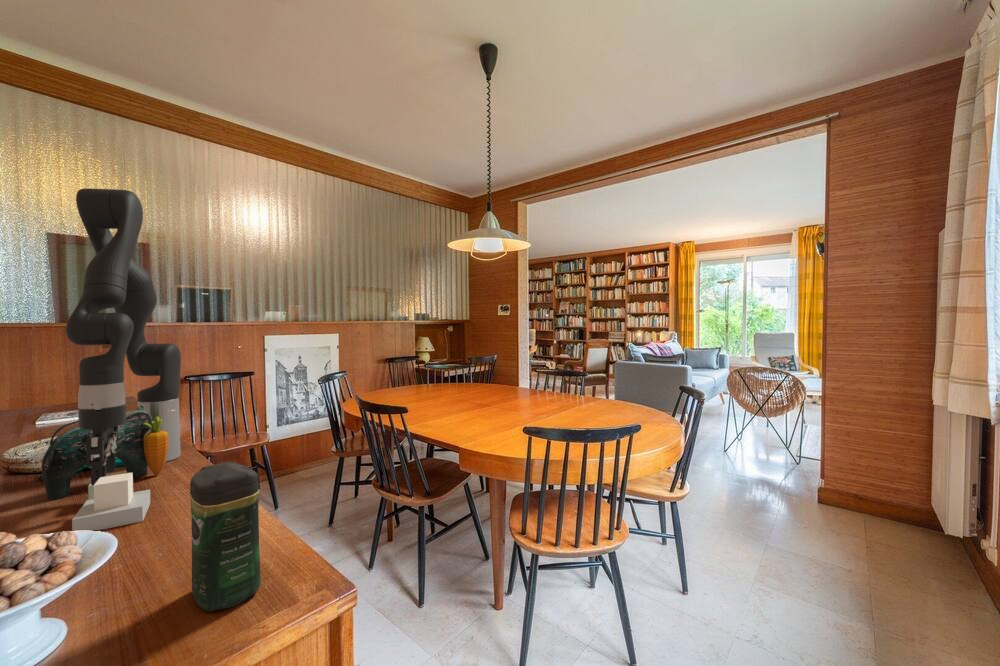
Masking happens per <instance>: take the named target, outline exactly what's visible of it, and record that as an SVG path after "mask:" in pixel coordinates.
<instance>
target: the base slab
mask: <svg viewBox="0 0 1000 666" xmlns="http://www.w3.org/2000/svg"><path fill="white" fill-rule="evenodd" d="M150 505H151V489H146V490H139V491H133V497H132V499H131V501H130V503H129V505H124V506H119V507H113V508H108V509H102V510H97V511H94V499H91V500H89V499H87V500H86V501H85V502H84V503H83V505H82V506H81V507H80V508H79V510H78V511H77V513H76V514H75V515H74V516H73V518H72V519H71V527H72V528H71V529H72V531H75V530H98V531H102V530H103V531H104V530H107V529H111V528H112V529H113V528H115V527H116V528H118V527H121V526H126V525H130V524H132V525H133V524H137V523H141V522H144V519H145V517H146V515H147V512H148V509H149V508H150ZM101 528H102V530H101Z"/></svg>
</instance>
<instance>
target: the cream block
mask: <svg viewBox="0 0 1000 666" xmlns="http://www.w3.org/2000/svg"><path fill="white" fill-rule="evenodd" d="M133 492H134V479H133V472H132V473H127V472H126V473H120V474H119V473H118V474H113V475H112V474H111V475H106V477H100V478H99V479H98V481H97V482H96V483H95V484H94V511H97V510H102V509H108V508H113V507H119V506H124V505H129V503H130V501H131V499H132V497H133Z"/></svg>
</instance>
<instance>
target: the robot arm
mask: <svg viewBox="0 0 1000 666" xmlns="http://www.w3.org/2000/svg"><path fill="white" fill-rule="evenodd" d="M75 196H76V197H75V204H76V207H77V211H78V214H79V218H80V220H81V222H82V224H83V226H84V227H83V228H85V231H86V233H87V236H88V238H89V240H90V242H91V245H92V247H93V249H94V253H95V256H93V258H92V259H91V260H90V262H89V263H88V265H87V267H86V270H85V274H84V281H83V289H82V294H81V296H80V298H79V301H78V303H77V304H76V307H75V308H74V310H73V312H71V314H70V316H69V318H68V319H67V320H68V321H66V326H65V335H66V337H67V338H68V340H69V341H70V342H71V343H72V344H74V345H78V346H105V345H106V346H108V345H110V348H109V350H108V351H106V353H103V354H102V353H101V354H99V355H98V354H97V355H93V356H87V357H83V358H82V359H81V360H80V361H79V365H78V367H79V368H78V370H79V371H78V372H79V376H78V377H79V378H78V379H79V382H78V383H79V386H78V387H79V388H78V395H77V408H78V409H77V411H78V412H77V415H78V416H77V418H78V420H77V421H78V427H79V428H81V429H91V430H92V431H93V432H92V437H89V438H87V440H86V465H85V466H86V468H89V469H90V483H91V485H94V484H95V483H96V482H97V481H98V479H99V478H100V477H106V476H107V474H110V473H114V472H116V469H117V468H116V458H115V455H116V453H117V450H118V448H119V446H118V426H119V425H122V424H124V423H125V422H126V412H127V405H126V404H127V402H126V400H127V399H126V398H127V396H126V387H125V378H124V377H125V374H124V373H125V370H124V369H125V367H124V365H125V358H126V360H127V363H128V364H127V365H128V367H129V369H130V371H131V372H132V374H133V375H135V376H139V377H159V381H158V382H157V383H156V384H154V385H152V386H150V387H146V388H143V389H140V390H139V391H138V392H137V408H138V407H139V405H142V406H143V407H144V409H145V411H146V412H147V413H149V414H150V415H151V418H152V421H154V422H155V418H154V417H159V419H162V420H163V421H162V424H161V426H160V430H159V431H166V432H167V433H168V453H167V458H166V462H170V461H173V460H175V459H177V458H180V457H181V425H180V423H181V422H180V421H181V420H180V389H181V367H182V366H181V365H182V364H181V363H182V362H181V361H182V356H181V351H180V348H179V347H178V346H177V345H176V344H175V343H170V342H169V343H167V342H166V343H148V342H147V340H146V335H145V328H146V325H147V323H148V321H149V319H150V318H151V316H152V313H153V312H154V309H156V305H157V303H158V302H157V301H158V298H157V293H156V290H155V286H154V282H153V280H152V277H151V275H150V274H149V273H148V271H147V270H146V269H145V268H143V267H142V266H141V264H139V263H138V262H137V261H136V260H135V259H134V258H132V257H133V255H134V251H135V250H136V249H135V248H136V245H137V243H138V240H139V235H140V233H141V229H142V225H143V221H144V210H143V206H142V202H141V200H140V198H139V197H138V195H137V194H136V193H135V192H133V191H131V190H127V189H126V190H125V189H118V188H117V189H114V188H113V189H112V188H92V187H91V188H90V187H87V188H86V187H85V188H80V189H79V190H78V191H77V192H76V195H75ZM110 229H111V230H116V232H115V233H114V235H113V234H112V232H111V230H110ZM108 309H114V311H115V312H101V311H102V310H108ZM149 432H152V431H151V429H149V431H148V432H147V433H146V434H148V433H149ZM146 434H145V435H146ZM145 435H144V436H145ZM96 457H99V460H94V459H95V458H96Z"/></svg>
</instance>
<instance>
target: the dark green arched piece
mask: <svg viewBox="0 0 1000 666" xmlns="http://www.w3.org/2000/svg"><path fill="white" fill-rule="evenodd" d="M151 422H152V418H151V415H150V414H149V413H147V412H146V411H145V409H144V407H143V406H142V405H139V407H138V406H137V408H136V409H133V410H129V411H126V422H125V423H124V424H122V425H119V426H118V446H119V448H118V450H117V453H116V455H115V459H116V458H117V459H118V460H120V461H121V462H122V464H123V465H124V468H125V470H126V473H132V472H133V480H134V478H135V479H137V478H139V477H144V476H147V475H148V464H147V461H146V457H145V452H144V440H143V439H144V435H145V434H146V433H147V432H148V431H149V429H150V428H149V427H147V426H145V425H143V424H144V423H148V424H150V425H151V426H152V423H151ZM77 423H78V424H79V422H78V420H75V421H72V422H68V423H66V424H64V425H61V426H60V427H59V428H58V429H56V430H55V431H54V432H53V434H52V436H51V438H50V440H49V446H48V447H47V450H46V452H44V455H43V458H42V461H41V476H42V479H43V484H44V487H45V492H46V497H47V499H49V500H51V501H55V500H59V499H63V498H67V497H70V496H71V483H72V478H73V477H74V476H75V474H76V473H77V472H78V471H79V470H80V469H82V468H84V467H85V466H86V440H87V438H89V437H92V432H93V431H92V430H91V429H81V428H79V426H75V427H72V428H69V429H67V430H66V431H64V432H63V433H61V434H59V435H58V436H57V437H55V436H56V435H57V433H59V432H60V431H61V430H63V429H64V428H66V427H68V426H71V425H74V424H77ZM94 460H99V457H96V458H95V459H94Z"/></svg>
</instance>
